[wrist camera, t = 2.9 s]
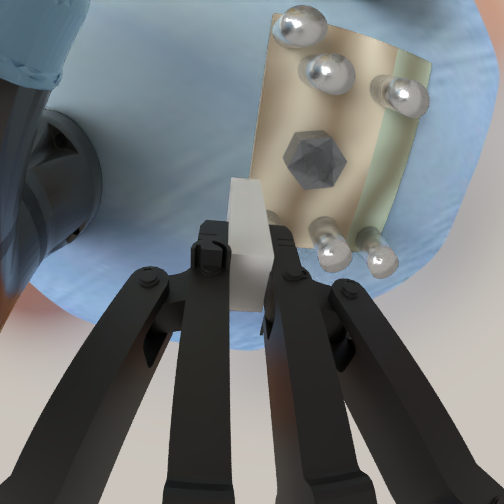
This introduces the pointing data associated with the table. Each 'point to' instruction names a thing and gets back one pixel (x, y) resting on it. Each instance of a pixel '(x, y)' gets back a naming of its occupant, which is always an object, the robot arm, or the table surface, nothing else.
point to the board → (334, 135)
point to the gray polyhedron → (314, 159)
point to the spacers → (336, 83)
